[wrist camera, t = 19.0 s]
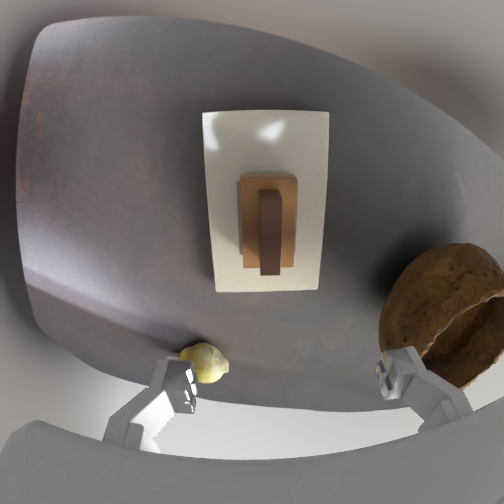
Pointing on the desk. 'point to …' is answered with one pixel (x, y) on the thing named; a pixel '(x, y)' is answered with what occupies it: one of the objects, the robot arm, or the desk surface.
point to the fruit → (205, 361)
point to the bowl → (448, 312)
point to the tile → (265, 162)
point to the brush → (268, 221)
